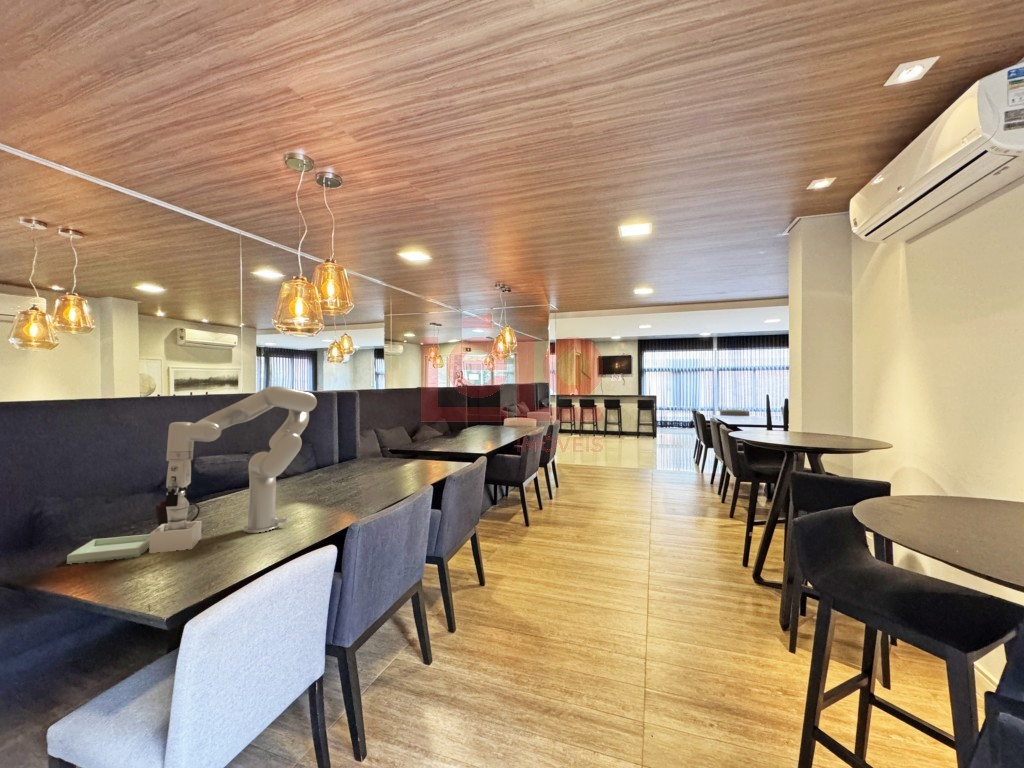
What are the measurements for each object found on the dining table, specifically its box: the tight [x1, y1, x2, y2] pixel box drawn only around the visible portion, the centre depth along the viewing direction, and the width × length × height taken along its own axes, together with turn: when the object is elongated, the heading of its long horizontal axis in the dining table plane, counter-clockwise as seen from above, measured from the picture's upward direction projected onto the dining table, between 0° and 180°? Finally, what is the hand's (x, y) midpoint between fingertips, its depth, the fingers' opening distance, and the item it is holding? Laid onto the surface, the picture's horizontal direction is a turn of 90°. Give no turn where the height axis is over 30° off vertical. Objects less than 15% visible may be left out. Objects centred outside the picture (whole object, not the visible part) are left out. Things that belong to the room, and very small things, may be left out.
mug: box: [155, 499, 201, 527], centre depth 165 cm, size 10×14×12 cm
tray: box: [66, 533, 150, 565], centre depth 142 cm, size 18×16×3 cm
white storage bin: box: [148, 520, 202, 554], centre depth 149 cm, size 12×11×7 cm
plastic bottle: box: [166, 490, 190, 531], centre depth 149 cm, size 6×7×20 cm
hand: (176, 503), depth 149 cm, fingers open, 9 cm apart
